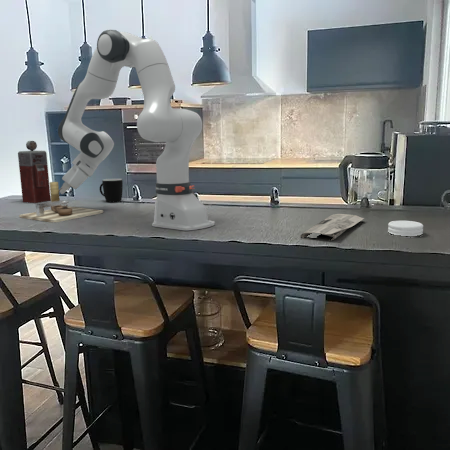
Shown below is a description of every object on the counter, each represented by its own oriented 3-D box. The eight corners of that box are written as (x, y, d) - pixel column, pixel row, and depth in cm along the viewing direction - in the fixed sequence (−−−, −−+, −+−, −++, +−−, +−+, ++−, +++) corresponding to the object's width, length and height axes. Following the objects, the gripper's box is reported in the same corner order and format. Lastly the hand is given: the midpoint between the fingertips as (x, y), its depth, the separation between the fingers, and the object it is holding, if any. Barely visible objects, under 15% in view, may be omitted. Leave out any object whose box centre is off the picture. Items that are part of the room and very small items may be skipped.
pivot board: (103, 212, 188) (103, 210, 188) (54, 222, 170) (53, 220, 170) (69, 208, 200) (68, 206, 200) (19, 217, 181) (19, 214, 181)
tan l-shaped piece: (74, 213, 179) (71, 184, 177) (60, 215, 176) (58, 186, 174) (61, 208, 192) (58, 181, 190) (48, 209, 189) (46, 182, 187)
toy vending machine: (38, 203, 215) (32, 141, 210) (22, 202, 221) (16, 141, 215) (54, 200, 223) (49, 140, 217) (38, 199, 228) (33, 140, 223)
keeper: (74, 214, 181) (73, 200, 180) (52, 218, 173) (51, 204, 172) (58, 211, 186) (57, 198, 185) (36, 215, 178) (35, 202, 177)
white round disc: (427, 233, 144) (428, 222, 144) (415, 239, 137) (416, 228, 136) (395, 229, 151) (396, 218, 150) (382, 235, 144) (382, 223, 143)
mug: (127, 200, 220) (126, 178, 218) (115, 203, 212) (113, 180, 210) (107, 199, 225) (105, 178, 223) (94, 202, 217) (92, 180, 215)
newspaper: (330, 219, 170) (330, 209, 170) (365, 222, 165) (366, 212, 164) (298, 240, 140) (298, 228, 139) (340, 244, 134) (341, 232, 133)
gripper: (72, 159, 199) (50, 184, 197) (81, 163, 181) (57, 191, 179) (84, 169, 202) (63, 194, 200) (94, 174, 184) (70, 201, 182)
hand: (60, 192), depth 189 cm, fingers closed, pressing on tan l-shaped piece
